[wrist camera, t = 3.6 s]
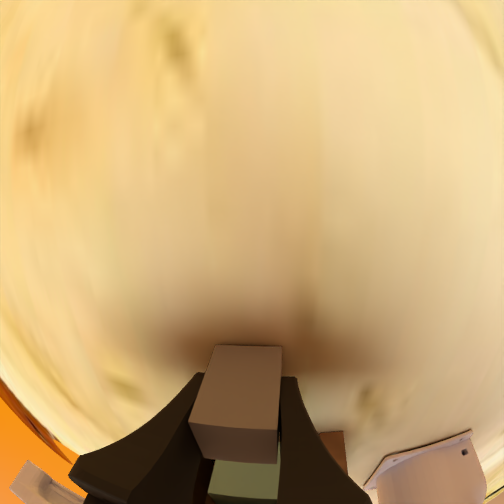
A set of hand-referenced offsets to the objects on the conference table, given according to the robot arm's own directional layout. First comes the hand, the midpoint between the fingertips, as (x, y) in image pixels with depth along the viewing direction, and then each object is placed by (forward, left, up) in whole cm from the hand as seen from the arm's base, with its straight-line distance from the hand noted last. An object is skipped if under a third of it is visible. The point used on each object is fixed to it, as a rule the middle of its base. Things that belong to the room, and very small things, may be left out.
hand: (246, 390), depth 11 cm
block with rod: (0, +5, -2) cm, 6 cm away
